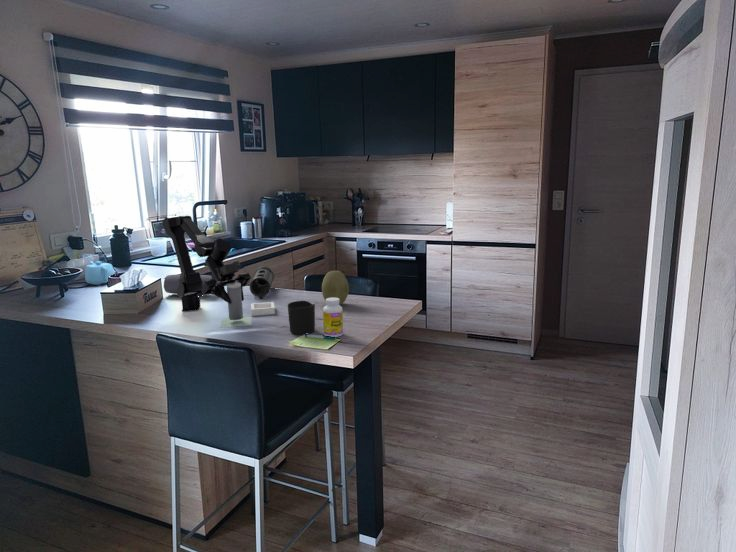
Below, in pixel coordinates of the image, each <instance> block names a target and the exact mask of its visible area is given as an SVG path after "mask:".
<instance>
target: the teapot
mask: <svg viewBox="0 0 736 552" xmlns="http://www.w3.org/2000/svg"><path fill="white" fill-rule="evenodd" d="M89 263H90V264H87V265H85V270H84V271H85V272H84V278H85V281H86V283H87V284H90V285H95V286H101V284H108V283H107V280H108V277H109V276H110V275H112V274H115V275H116V273H115V270H114V266H113V264H111V263H108V262H102V261H101V260H100V261H95V262H94V261H92V260H90V261H89Z"/></svg>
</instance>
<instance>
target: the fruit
mask: <svg viewBox="0 0 736 552" xmlns="http://www.w3.org/2000/svg"><path fill="white" fill-rule="evenodd" d="M349 285H350V284H349V281H348V279H347V277H346V276H345V274H344V273H343V272H341V271H340V270H335V269H334V270H330V271H328V272H327V273H326V274H325V276H324V277H323V280H322V283H321V293H322V297H323V299H324V301H325V302H326V299H327V298H332V297H335V298H339V301H340V302H339V305H340V306H341V305H342V304H344V302H345V301H346V300H347V298H348V295H349V291H350V287H349Z"/></svg>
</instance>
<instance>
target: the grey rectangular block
mask: <svg viewBox="0 0 736 552" xmlns="http://www.w3.org/2000/svg"><path fill="white" fill-rule="evenodd" d="M226 292H227V294H228V296H229V298H230V300H231V304H229V303H228V302H227V305H228V306H227V309H228V318H229V319H230V320H240V319H242V318H243V317H244V311H243V310H244V309H243V301H242V295H241V283H228V284H227V286H226Z"/></svg>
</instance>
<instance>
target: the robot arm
mask: <svg viewBox="0 0 736 552" xmlns="http://www.w3.org/2000/svg"><path fill="white" fill-rule="evenodd" d="M161 224H162V228H163V229H164V231H165V234H167V236H168V237H169V238H170V239H171V241H172V244H173V248H174V251H175V255H176V258H177V262H178V265H179V269H180V278H179V283H180V285H179V286H178V288H177V290H176V292H177V294H176V295H177V296H178V297H181V307H182V308H181V312H191V311H192V312H193V311H199V309H200V308H201V297H198V294H201V293H203V296H207V294H210V295H212V296H215V297H218V298H219V299H222V300H223V301H225V302H226V303H227V304H228V303H229V304H231V300H230V298H229V296H228V294H227V290H226V288H225V287H227V284H228V283H241V295H242V302H244V301H245V298H244V297H245V296H244V290H243V289H244V287H246V286H247V285H248V284H249V282H251V280H252V279H253V277H252V276H251V275H250V273H248V272H244V273H238V272H239V271H240V270H241V269H242V265H241V263H240V262H239V261H238V260H237V261H233V262H232V263H228V264H225V262H224V261H225V260H226V259H227V257H228V256H229V254H230V252H231V251H232V244H231V243H230V242H228V240H225V239H223V238H222V237H219V238H216V239H215V240H214V239H212V238H211V237H210V236H206V235H205V234H204V233H203V232H202V231H201V229H200V228H199V227H198V225H197V224H196V223H195V222H194V221H193V219H192V216H191V215H190V214H181V215H176V216H174V215H173V216H165V217H164V219H163V220H162V223H161ZM185 234H186V235H187V236H188V238H189V239H190V240H191V241H192V243H193V244H194V251H195V252H196V254H197V255H198V256H199V257H200V258H205V257H206V259H205V260H204V265H203V266H204V267H205V268H206V267H208V268H209V271H210V272H211V275H210V276H211V277H212V278H215V279H212V280H206V281H205V282H204V284H203V283H202V280H201V277H200V275H201V274H200V272H199V271H196V270H195V269H194V267H193V264H192V259H191V256H190V255H191V254H190V252H189V248H188V245H187V242H186V238H185ZM236 273H238V275H237V278H233V277H235V276H236ZM211 289H212V290H211ZM212 291H213V292H212ZM211 292H212V294H211Z"/></svg>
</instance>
